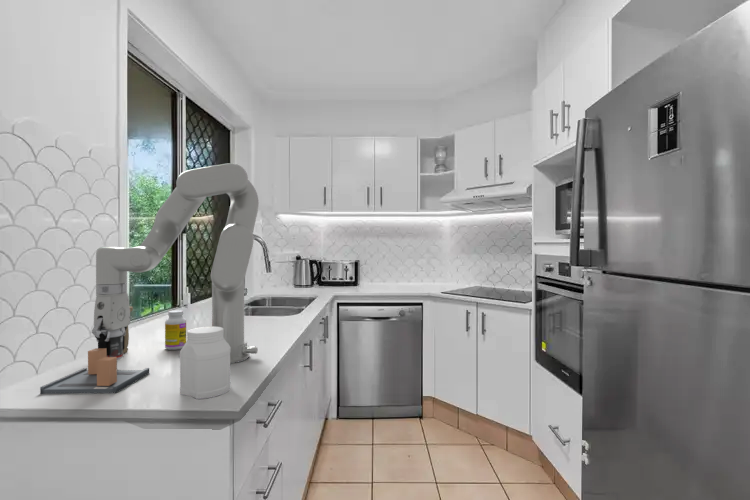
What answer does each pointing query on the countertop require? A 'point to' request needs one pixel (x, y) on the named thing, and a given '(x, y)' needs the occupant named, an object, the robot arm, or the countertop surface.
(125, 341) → the handle
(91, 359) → the orange rectangular block
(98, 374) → the tab
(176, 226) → the robot arm
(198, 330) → the jar
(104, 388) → the grey tray
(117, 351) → the pill bottle
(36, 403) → the countertop surface
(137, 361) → the countertop surface
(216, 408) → the countertop surface
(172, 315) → the supplement bottle
